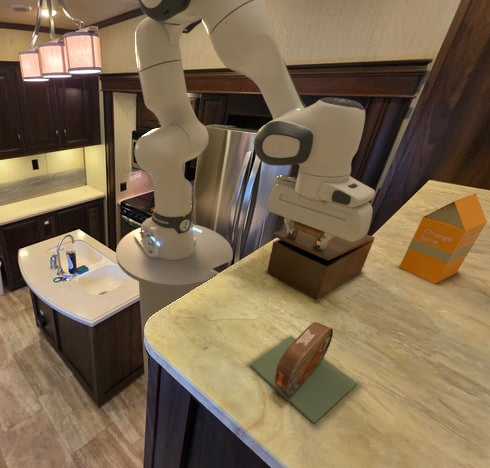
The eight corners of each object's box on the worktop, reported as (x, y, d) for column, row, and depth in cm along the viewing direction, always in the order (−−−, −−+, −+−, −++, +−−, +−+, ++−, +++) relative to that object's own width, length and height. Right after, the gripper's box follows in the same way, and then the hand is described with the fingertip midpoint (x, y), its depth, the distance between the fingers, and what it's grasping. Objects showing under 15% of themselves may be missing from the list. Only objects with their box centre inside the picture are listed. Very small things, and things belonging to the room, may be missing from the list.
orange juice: (457, 273, 71) (502, 198, 62) (435, 283, 69) (479, 207, 59) (418, 257, 78) (454, 187, 68) (397, 267, 75) (431, 195, 65)
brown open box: (316, 300, 67) (327, 267, 62) (266, 272, 77) (273, 241, 72) (361, 272, 74) (373, 240, 70) (310, 250, 85) (318, 220, 80)
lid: (327, 260, 61) (335, 239, 59) (272, 236, 71) (277, 217, 69) (373, 240, 70) (382, 221, 67) (318, 220, 80) (324, 203, 78)
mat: (249, 365, 54) (249, 364, 53) (290, 337, 58) (291, 336, 58) (313, 424, 44) (314, 422, 44) (356, 385, 49) (357, 383, 49)
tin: (285, 404, 47) (296, 371, 42) (266, 390, 49) (275, 357, 45) (328, 354, 54) (341, 322, 50) (310, 343, 56) (321, 312, 52)
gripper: (266, 175, 67) (257, 228, 73) (367, 202, 51) (344, 266, 57) (284, 170, 69) (274, 221, 76) (385, 193, 53) (362, 256, 60)
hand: (305, 241), depth 66 cm, fingers closed on lid, 6 cm apart
